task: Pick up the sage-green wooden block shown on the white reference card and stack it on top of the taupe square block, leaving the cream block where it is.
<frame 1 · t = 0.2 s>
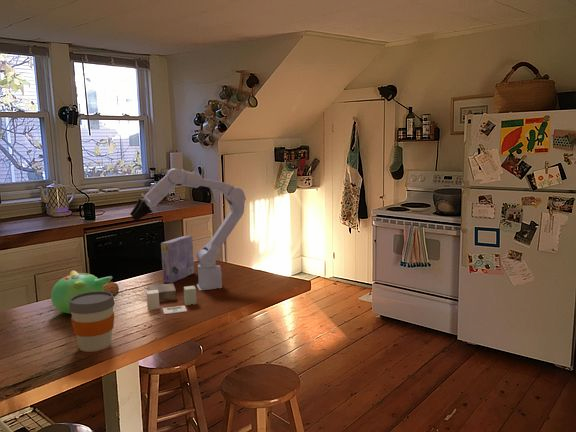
hand: (132, 217, 188), 31 cm above the table, tool tilted 45°, fingers open, 7 cm apart
green rounded plush: (80, 312, 176), on the table
cream block: (153, 307, 180), on the table
reference card: (174, 310, 177), on the table
pastry: (110, 293, 198), on the table
taupe square block: (161, 298, 191), on the table
cake pan box: (179, 278, 218), on the table
reusable coffee cup: (95, 345, 148), on the table
sage block: (190, 303, 184), on the table
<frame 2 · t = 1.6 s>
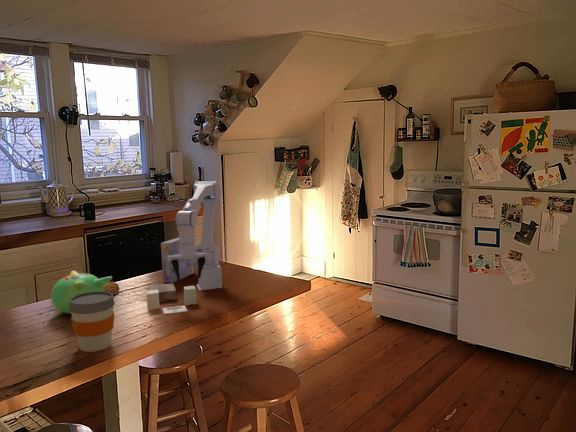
hand: (188, 278, 183), 9 cm above the table, tool pointing down, fingers open, 7 cm apart
nothing on the table moved.
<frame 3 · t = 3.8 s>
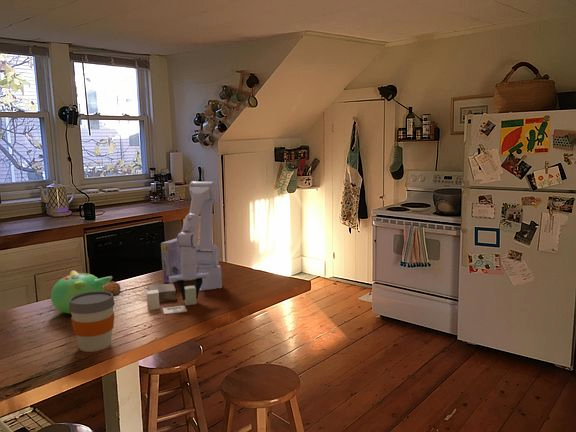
hand: (190, 298, 184), 2 cm above the table, tool pointing down, fingers closed on sage block, 4 cm apart
sage block: (190, 302, 184), on the table, touching gripper
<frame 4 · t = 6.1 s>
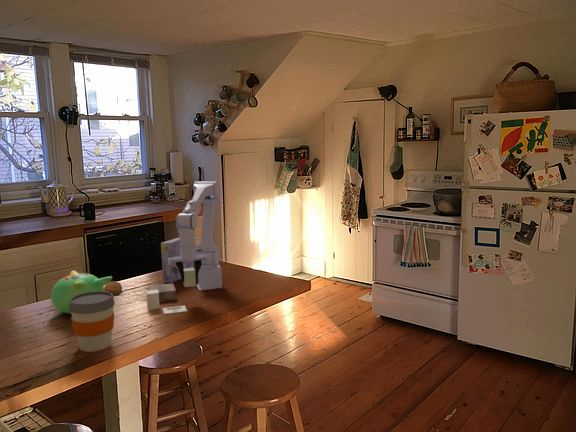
hand: (189, 280, 183), 9 cm above the table, tool pointing down, fingers closed on sage block, 4 cm apart
sage block: (189, 285, 183), point 7 cm above the table, touching gripper
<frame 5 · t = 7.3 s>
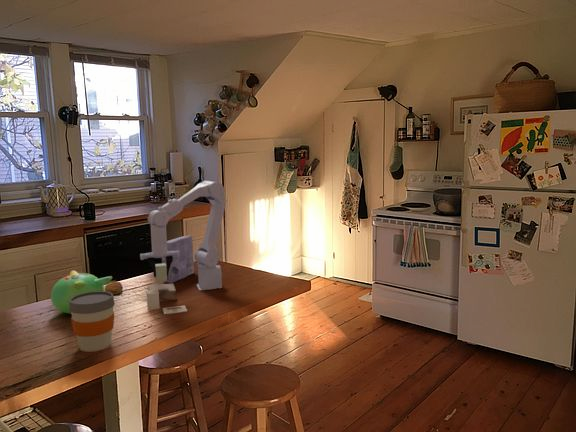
hand: (161, 275, 190), 9 cm above the table, tool pointing down, fingers closed on sage block, 4 cm apart
sage block: (161, 279, 190), point 7 cm above the table, touching gripper
when the fingers open (7 cm above the table, at t = 8.5 s): sage block drops 2 cm, point 4 cm above the table.
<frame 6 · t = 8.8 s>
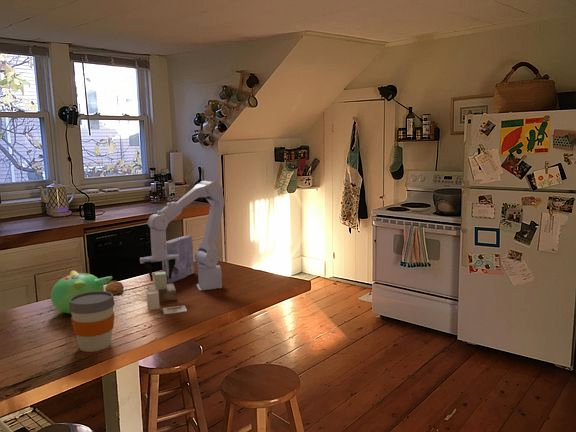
hand: (160, 279, 190), 7 cm above the table, tool pointing down, fingers open, 6 cm apart
sage block: (161, 288, 191), point 4 cm above the table
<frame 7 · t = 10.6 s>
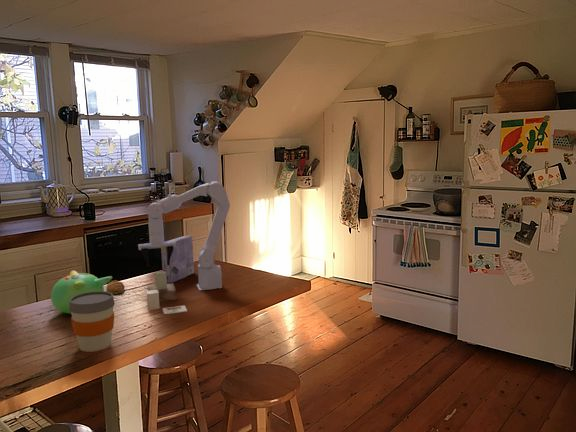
hand: (158, 265, 198), 10 cm above the table, tool pointing down, fingers open, 7 cm apart
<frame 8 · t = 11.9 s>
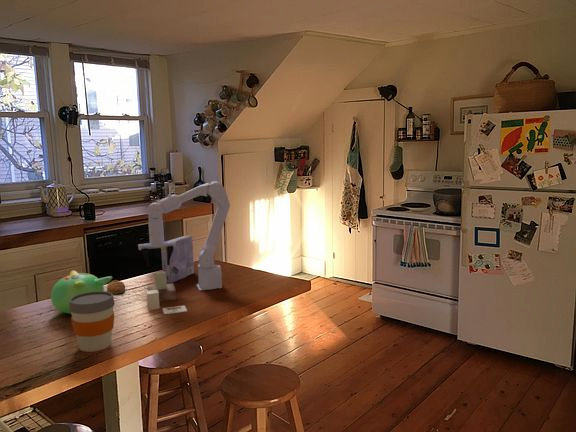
hand: (158, 265, 198), 10 cm above the table, tool pointing down, fingers open, 7 cm apart
at the end: sage block 0.1 cm off-centre on the taupe square block, point 4.0 cm above the taupe square block's base; sage block tilted 1°; the gripper is holding nothing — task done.
